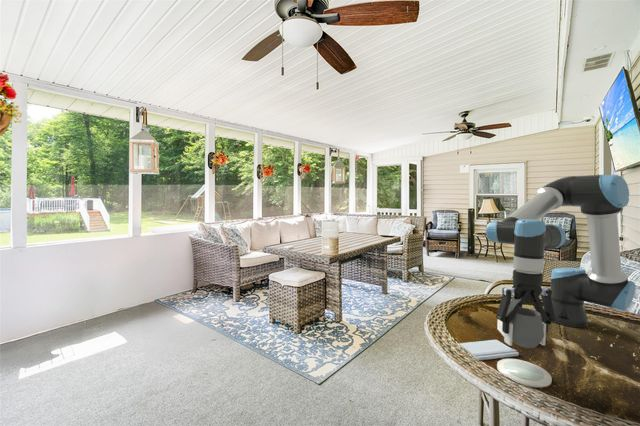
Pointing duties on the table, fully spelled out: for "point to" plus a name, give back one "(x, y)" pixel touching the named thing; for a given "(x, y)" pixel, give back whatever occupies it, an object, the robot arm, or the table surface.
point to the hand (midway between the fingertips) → (524, 343)
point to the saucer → (524, 372)
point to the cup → (527, 328)
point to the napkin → (488, 349)
